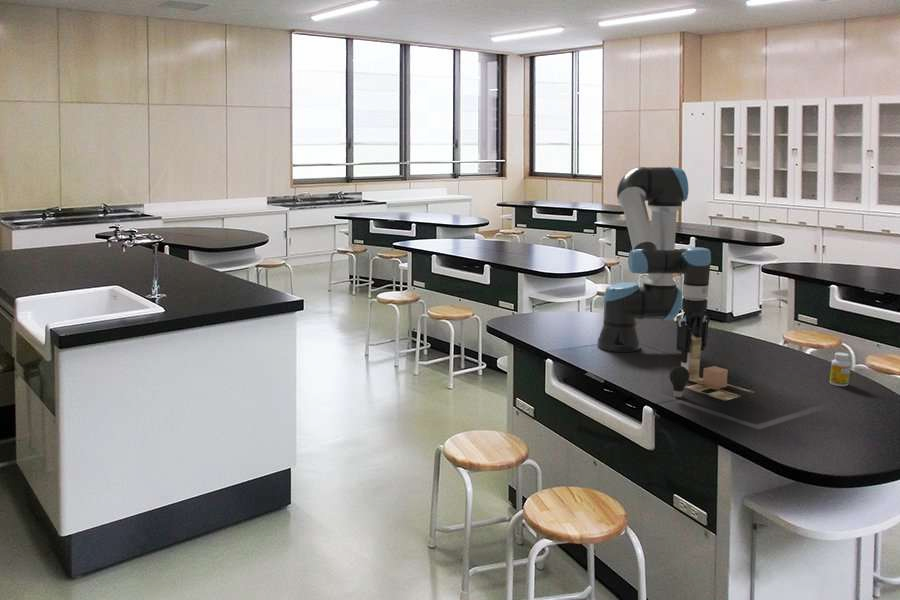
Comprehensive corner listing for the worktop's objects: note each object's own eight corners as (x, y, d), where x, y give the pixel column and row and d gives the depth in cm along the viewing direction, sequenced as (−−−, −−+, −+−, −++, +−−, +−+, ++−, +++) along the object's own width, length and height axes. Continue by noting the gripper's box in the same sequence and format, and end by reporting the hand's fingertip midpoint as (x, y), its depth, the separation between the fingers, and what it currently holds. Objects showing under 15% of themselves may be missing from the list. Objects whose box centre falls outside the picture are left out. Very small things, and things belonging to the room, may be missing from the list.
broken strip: (685, 390, 249) (685, 386, 249) (696, 387, 252) (696, 384, 251) (727, 403, 237) (727, 399, 237) (738, 400, 240) (738, 397, 239)
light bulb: (671, 394, 244) (674, 362, 242) (690, 398, 241) (692, 365, 239) (665, 399, 239) (667, 366, 237) (684, 403, 236) (686, 369, 234)
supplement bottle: (825, 381, 259) (829, 351, 257) (842, 381, 260) (845, 351, 258) (835, 386, 254) (838, 356, 252) (851, 386, 254) (855, 356, 252)
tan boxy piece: (677, 379, 259) (680, 336, 256) (687, 377, 262) (690, 334, 259) (717, 392, 247) (720, 346, 244) (727, 389, 250) (731, 344, 247)
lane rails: (683, 390, 248) (683, 386, 248) (712, 383, 256) (712, 379, 256) (725, 403, 236) (725, 399, 236) (754, 395, 244) (754, 391, 244)
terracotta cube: (702, 384, 251) (703, 368, 250) (712, 381, 254) (714, 366, 253) (716, 388, 247) (717, 372, 246) (726, 385, 250) (727, 369, 249)
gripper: (686, 303, 246) (681, 378, 250) (722, 297, 255) (717, 369, 260) (666, 298, 252) (662, 372, 256) (702, 293, 261) (697, 364, 266)
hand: (689, 370), depth 258 cm, fingers closed on tan boxy piece, 4 cm apart
